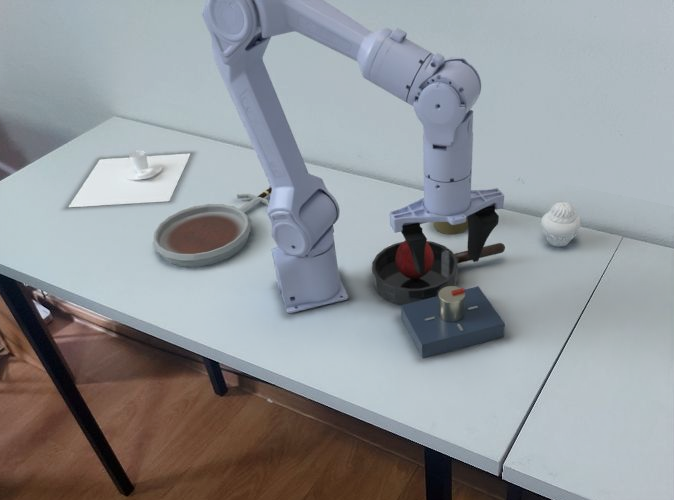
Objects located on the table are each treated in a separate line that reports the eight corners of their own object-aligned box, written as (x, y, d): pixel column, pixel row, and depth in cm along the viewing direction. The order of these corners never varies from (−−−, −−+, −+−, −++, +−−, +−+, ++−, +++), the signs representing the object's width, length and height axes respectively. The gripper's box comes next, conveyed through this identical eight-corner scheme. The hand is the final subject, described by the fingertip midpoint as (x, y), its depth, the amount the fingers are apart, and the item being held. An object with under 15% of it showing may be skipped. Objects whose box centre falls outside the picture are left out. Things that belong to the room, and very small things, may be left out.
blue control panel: (422, 358, 89) (421, 343, 87) (401, 318, 96) (400, 304, 94) (503, 336, 91) (505, 322, 89) (477, 299, 98) (478, 284, 96)
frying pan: (309, 189, 121) (200, 265, 104) (311, 203, 123) (204, 280, 106) (241, 169, 128) (129, 237, 112) (244, 183, 130) (135, 252, 114)
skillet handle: (453, 266, 102) (454, 258, 100) (450, 260, 103) (450, 252, 102) (506, 253, 103) (507, 245, 102) (502, 248, 104) (502, 240, 103)
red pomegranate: (431, 291, 99) (430, 246, 94) (393, 288, 100) (391, 244, 95) (436, 268, 103) (435, 224, 98) (399, 266, 105) (397, 223, 99)
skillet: (388, 314, 96) (387, 298, 94) (363, 266, 106) (362, 251, 104) (470, 294, 99) (471, 278, 96) (439, 248, 108) (439, 233, 106)
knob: (444, 324, 90) (444, 302, 87) (434, 309, 93) (434, 287, 90) (468, 318, 91) (469, 296, 88) (458, 303, 93) (459, 281, 91)
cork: (459, 237, 110) (460, 177, 102) (427, 229, 112) (426, 170, 105) (475, 219, 113) (477, 160, 106) (443, 212, 116) (443, 154, 108)
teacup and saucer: (157, 182, 132) (151, 163, 129) (118, 184, 132) (111, 166, 130) (167, 162, 138) (161, 143, 136) (130, 164, 139) (124, 146, 136)
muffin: (585, 238, 107) (591, 200, 102) (565, 256, 104) (571, 218, 99) (551, 226, 110) (556, 189, 105) (531, 243, 107) (535, 205, 102)
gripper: (400, 199, 74) (404, 293, 84) (518, 173, 77) (509, 268, 86) (381, 171, 79) (387, 263, 89) (492, 148, 82) (487, 240, 91)
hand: (446, 264), depth 88 cm, fingers open, 7 cm apart
